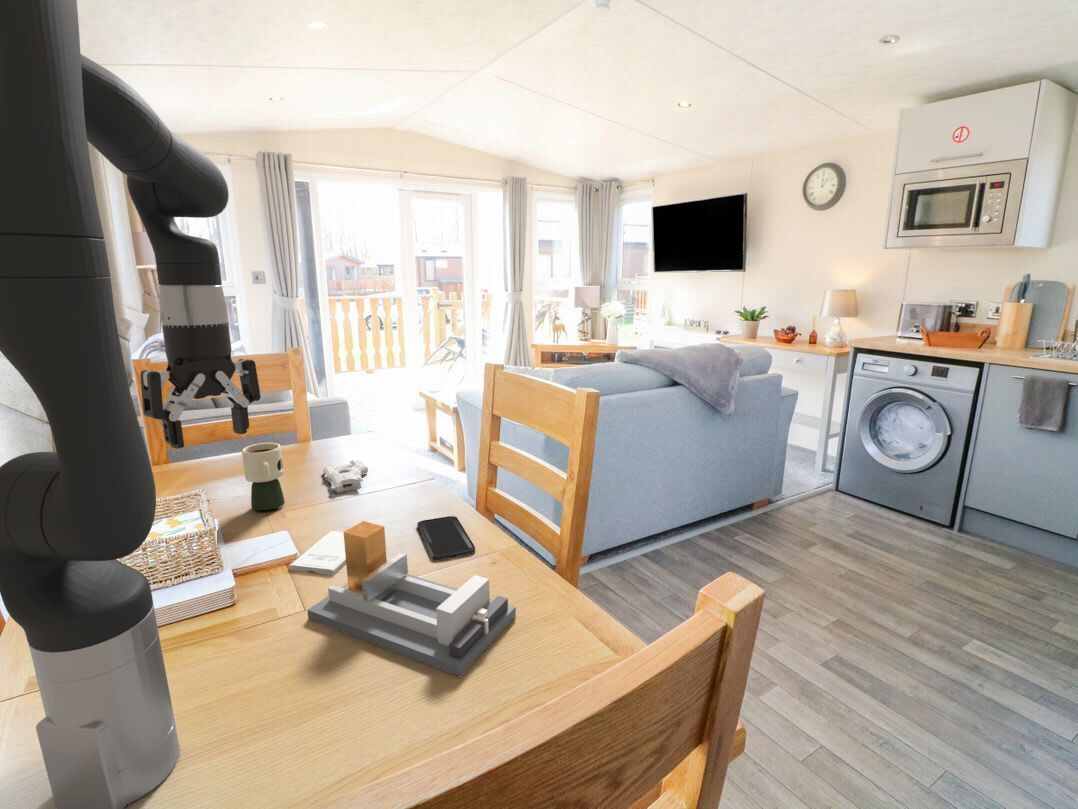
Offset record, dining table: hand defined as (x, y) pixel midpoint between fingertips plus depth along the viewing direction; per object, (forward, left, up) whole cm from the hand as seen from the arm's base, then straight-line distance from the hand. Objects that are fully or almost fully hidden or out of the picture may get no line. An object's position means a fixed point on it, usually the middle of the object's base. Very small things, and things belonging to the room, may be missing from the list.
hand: (210, 439), depth 78 cm
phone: (+24, -25, -26) cm, 44 cm away
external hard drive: (+16, -7, -27) cm, 32 cm away
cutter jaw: (+3, -20, -24) cm, 31 cm away
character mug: (+33, +15, -26) cm, 45 cm away
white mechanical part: (+50, +6, -26) cm, 57 cm away
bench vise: (0, -27, -26) cm, 37 cm away
